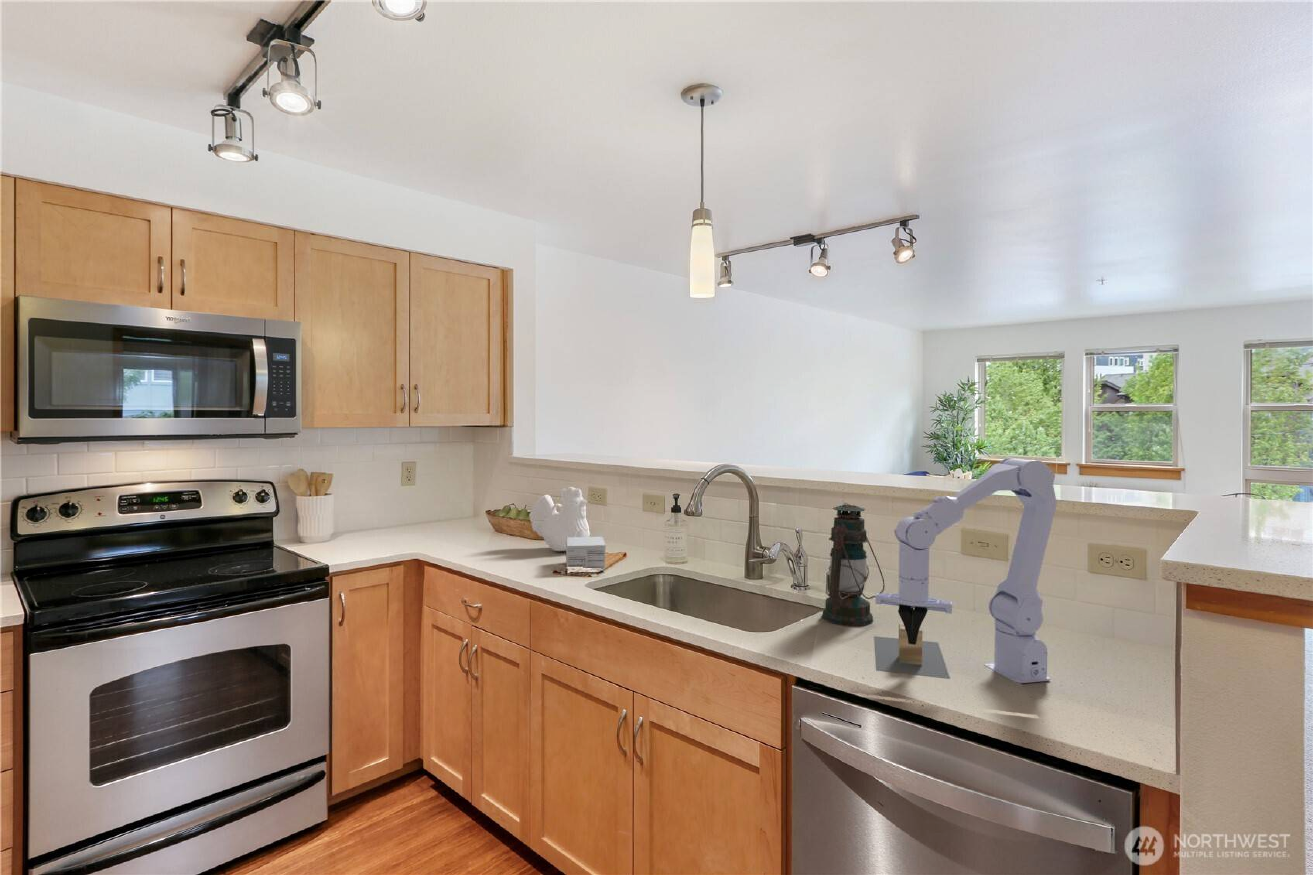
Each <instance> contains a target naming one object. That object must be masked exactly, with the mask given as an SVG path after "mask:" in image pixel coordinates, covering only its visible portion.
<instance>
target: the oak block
mask: <svg viewBox="0 0 1313 875" xmlns="http://www.w3.org/2000/svg"><path fill="white" fill-rule="evenodd" d="M923 632H924V631H923V627H922V625H921V626H920V629H919V632H918V636H917V643H916V645H913V644H908V637H907V633H906V629H905V626H904V624H903V622H900V621H899V622H898V639H899V651H898V657H899V664H907V665H916V666H922V641H923V634H924V633H923Z"/></svg>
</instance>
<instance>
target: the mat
mask: <svg viewBox="0 0 1313 875" xmlns="http://www.w3.org/2000/svg"><path fill="white" fill-rule="evenodd" d="M873 639H874V656H875V658H874V659H875V671H876V672H884V673H885V672H888V673H894V674H895V673H897V674H904V675H913V676H922V677H930V678H940V679H947V680H948V679H951V678H950V674H949V671H948V668H947V666H946V662H945V660H944V657H943V656H944V655H943V654H942V650H941V647H940V644H939V642H937V641H930V640H929V641H927V640H926V641H925V640H922V666H916V665H907V664H899V657H898V651H899V637H898V638H895V637H885V636H878V635H877V636H876V635H875V636H873Z"/></svg>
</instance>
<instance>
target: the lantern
mask: <svg viewBox="0 0 1313 875" xmlns="http://www.w3.org/2000/svg"><path fill="white" fill-rule="evenodd" d="M832 509H833V510H835V511H836V517H833V518H834V519H833V527H831V531H830V532H831V533H830V537H829V538H828V540H829V541H831V542H832V546H833V547H832V548H831V549H830V553H829V556H830V564H829V567H828V572H829V573H828V575H829V581H830V582H829V592H828V594H827V596H828V597H827V598H825V604H824V605H825V607H824V609H823V610H822V615H821V617H822V619H823V620H824V621H827V622H829V623H832V624H836V625H839V626H845V627H862V626H867V625H870V624H872V623H873V622H874V619H873V618H874V616H873V614H872V613H871V602H870V601H868V600H871V599H874V598H875V599H876V595H873V596H869V597H868V596H866V595H865V594H864V593H863V592H864V589H865V585H866V584H865V583H867V580H868V579H869V578H868V577H869V574H870V568H869V566H868V564H867V558H868V556H867V551H866V550H865V549H864V544H865V543H868V545H869V549H870V550H871V553H872V555H873V557H874V559H875V562H876V566H877V568H878V570H879V573H880V576H881V578H882V584H883V585H882V590H881V591H880V592H879V593H884V591H885V588H886V585H885V579H884V576H883V572H882V569H881V567H880V565H879V562H878V559H877V557H876V555H875V552H874V550H873V548H872V545H871V543H870V541H869V538H868V537H867V536H868V535H867V530H866V529H865V519H864V518H862V514H861V513H862V512H865V510H866V508H863V507H860V506H857V505H853V504H852V505H851V504H849V503H847V502H845V503H844V504H843V505H837V506H835V507H832ZM862 596H863V597H864V598H863V597H862Z"/></svg>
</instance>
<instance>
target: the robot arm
mask: <svg viewBox="0 0 1313 875" xmlns="http://www.w3.org/2000/svg"><path fill="white" fill-rule="evenodd" d="M1055 478H1056V475H1055V473H1054V472H1053V471H1052V470H1051V468H1050V467H1049V465H1047V464H1046V462H1043V461H1042V460H1037V459H1023V458H1017V457H1005V458H1004V459H1002V460H1000V461H999V463H998V462H997V463H995V464H993V465H991V467H990V468H989V469H988V470H987V471H986V472H985V473H983V474H982V475H981V476H979V477H978V478H977V479H975V480H973V481H972V482H971V483H970V484H969V485H967V486H965V487H964V488H963V489H961V490H960V491H959V492H957V493H956V494H954V495H953V496H948V495H943V496H938V495H937V496H936V497H934V498H933V499H932V501H933V502H932V503H931V504H929V505H927V506H926V507H924V508H923V509H921V510H916V511H914V512H913V516H906V517H904V518H902V519H900V521H898V525H896V528H895V529H894V530H893V531H894V536H895V538H896V540H898V542H899V547H898V548H899V552H898V553H899V554H898V593H887V592H886V593H884V592H882V593H880V592H877V593H876V594H875V596H876V598H875V605H889V606H894V607H895V606H897V607H898V610H897V611H898V615H899V617H900V620H901V621H902V623H903V624H904V626H905V629H906V633H907V637H908V644H913V645H916V643H917V636H918V632H919V629H920V626H921V627H922V623H923V621H924V619H925V618H926V616H927V614H928V611H936V612H941V613H942V612H943V613H945V614H948V615H949V614H952V613H953V601H950V600H949V601H948V600H942V599H940V598H939V599H937V598H934V597H930V596H929V594H930V593H929V591H930V590H929V589H930V588H929V587H930V586H929V582H930V581H929V580H930V547H932V545H933V544H934V543H935V540H936V537H937V536H939V535H940V534H941V533H942V534H943V532H945V531H946V530H948V529H949V528H950V527H952V526H954V525H955V524H957V523H959V522H960V521H962V519H963V517H964V512H965V510H967V509H969V508H971V507H972V506H974V505H976V504H977V503H979V502H981V501H982V500H985V499H986V498H987V497H989V496H991V495H993V494H994V493H996V492H999V491H1010V492H1012V493H1013V494H1015V496H1016V497H1017V498H1018V499H1019V501H1020V502H1021V503H1022V505H1023V509H1022V514H1021V519H1020V522H1019V527H1018V531H1017V535H1016V539H1015V544H1014V548H1013V552H1012V555H1011V560H1010V564H1009V567H1008V568H1009V569H1008V571H1007V572H1008V573H1007V575H1006V576H1007V577H1006V579H1005V580H1003V581H1002V582H1000V583H999V584H998V585H997V587H996V588H997V589H996V592H995V593H994V595H992V597H991V598H990V600H989V601H988V602H989V603H988V611H989V613H990V615H991V617H992V618H993V619H994V652H993V653H994V654H993V655H994V657H993V658H994V659H993V660H994V661H993V663H985V664H984V665H983V666H985V667H986V668H988V669H991V670H993V671H994V672H996V673H998V674H999V675H1002V676H1004V677H1006V678H1008V679H1010V680H1011V681H1013V682H1016V683H1020V684H1026V683H1027V684H1029V683H1037V682H1040V683H1041V682H1047V681H1051V678H1050V677H1049V676H1048V648H1047V645H1046V643H1045V642H1044V641H1042V640H1041V639H1039V638H1038V636H1037V635H1036V634H1037V632H1038V631H1039V630H1040V628H1041V627H1042V625H1043V622H1044V616H1043V612H1042V606H1043V598H1042V596H1041V594H1040V593H1039V591H1038V589H1037V586H1038V582H1039V578H1040V575H1041V574H1040V573H1041V569H1042V566H1043V560H1044V558H1045V553H1046V549H1047V547H1048V546H1047V545H1048V541H1049V538H1050V533H1051V529H1052V525H1053V521H1054V516H1055V512H1056V508H1057V497H1056V494H1055V493H1056V492H1055V488H1054V481H1055Z"/></svg>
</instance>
